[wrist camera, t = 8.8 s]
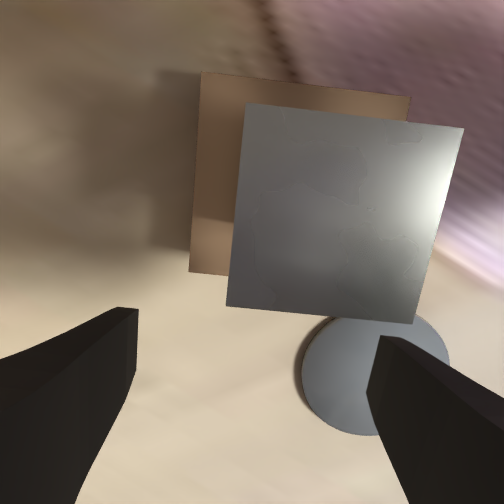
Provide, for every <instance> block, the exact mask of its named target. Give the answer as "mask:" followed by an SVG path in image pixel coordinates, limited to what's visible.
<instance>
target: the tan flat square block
mask: <svg viewBox="0 0 504 504" xmlns="http://www.w3.org/2000/svg"><path fill="white" fill-rule="evenodd" d="M410 101H411V97H407V96H399V95H390V94H382V93H374V92H366V91H357V90H349V89H341V88H333V87H324V86H316V85H308V84H300V83H291V82H283V81H275V80H267V79H258V78H250V77H242V76H234V75H225V74H217V73H209V72H201V85H200V101H199V117H198V132H197V148H196V164H195V179H194V195H193V210H192V226H191V242H190V257H189V272H193V273H203V274H213V275H223V276H229V267H230V257H231V247H232V237H233V227H234V217H235V207H236V196H237V186H238V176H239V166H240V156H241V146H242V136H243V126H244V115H245V105H246V102H247V103H256V104H264V105H272V106H281V107H289V108H297V109H306V110H314V111H323V112H331V113H339V114H348V115H356V116H364V117H373V118H381V119H389V120H398V121H406V119H407V114H408V110H409V105H410Z"/></svg>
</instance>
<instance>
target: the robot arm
mask: <svg viewBox="0 0 504 504" xmlns="http://www.w3.org/2000/svg"><path fill="white" fill-rule="evenodd" d="M138 313H139V309H133V308H124V307H116V308H113V309H111V310H109V311H107V312H105V313H103V314H101V315H99V316H97V317H95V318H93V319H91V320H89V321H87V322H85V323H83V324H81V325H79V326H77V327H75V328H73V329H71V330H69V331H67V332H65V333H63V334H60V335H58V336H56V337H54V338H51V339H49V340H47V341H45V342H43V343H40V344H38V345H36V346H34V347H31V348H29V349H26V350H24V351H21V352H19V353H16V354H14V355H11V356H8V357H5V358H2V359H0V504H75V501H76V499H77V496H78V494H79V492H80V489H81V487H82V485H83V483H84V481H85V478H86V476H87V474H88V472H89V470H90V468H91V466H92V464H93V462H94V460H95V458H96V456H97V455H98V453H99V451H100V449H101V447H102V445H103V443H104V441H105V439H106V437H107V435H108V433H109V431H110V429H111V428H112V426H113V424H114V422H115V420H116V418H117V416H118V414H119V412H120V410H121V408H122V406H123V404H124V402H125V400H126V397H127V394H128V392H129V389H130V386H131V383H132V381H133V378H134V375H135V372H136V363H137V338H138ZM366 396H367V399H368V403H369V407H370V411H371V414H372V417H373V421H374V424H375V426H376V429H377V431H378V434H379V436H380V438H381V441H382V443H383V445H384V448H385V450H386V452H387V454H388V457H389V459H390V461H391V463H392V466H393V468H394V470H395V472H396V475H397V477H398V479H399V482H400V484H401V486H402V488H403V491H404V493H405V495H406V497H407V500H408V502H409V504H504V398H503V397H501V396H499V395H497V394H496V393H494V392H492V391H490V390H489V389H487V388H485V387H483V386H482V385H480V384H478V383H476V382H475V381H473V380H471V379H470V378H468V377H466V376H465V375H463V374H461V373H460V372H458V371H457V370H455V369H453V368H452V367H450V366H449V365H447V364H445V363H444V362H442V361H441V360H439V359H437V358H436V357H434V356H433V355H431V354H430V353H428V352H426V351H425V350H423V349H421V348H420V347H418V346H416V345H415V344H413V343H411V342H409V341H407V340H405V339H403V338H401V337H395V336H385V335H380V338H379V342H378V346H377V350H376V354H375V358H374V362H373V366H372V370H371V374H370V377H369V381H368V385H367V389H366Z"/></svg>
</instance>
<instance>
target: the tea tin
mask: <svg viewBox="0 0 504 504" xmlns="http://www.w3.org/2000/svg"><path fill="white" fill-rule="evenodd" d="M463 131H464V128H456V127H448V126H440V125H431V124H423V123H415V122H406V121H398V120H389V119H381V118H373V117H364V116H356V115H348V114H339V113H331V112H323V111H314V110H306V109H297V108H289V107H281V106H272V105H264V104H256V103H247V102H246V105H245V115H244V126H243V136H242V146H241V156H240V166H239V176H238V186H237V196H236V207H235V217H234V227H233V237H232V247H231V257H230V267H229V277H228V288H227V298H226V306H230V307H240V308H250V309H260V310H270V311H280V312H290V313H300V314H311V315H321V316H331V317H341V318H351V319H361V320H371V321H381V322H391V323H402V324H413V320H414V317H415V313H416V309H417V305H418V301H419V298H420V294H421V290H422V286H423V283H424V279H425V275H426V271H427V267H428V264H429V260H430V256H431V252H432V249H433V245H434V241H435V237H436V233H437V230H438V226H439V222H440V218H441V215H442V211H443V207H444V203H445V199H446V196H447V192H448V188H449V184H450V181H451V177H452V173H453V169H454V165H455V162H456V158H457V154H458V150H459V146H460V143H461V139H462V135H463Z"/></svg>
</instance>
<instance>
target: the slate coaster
mask: <svg viewBox="0 0 504 504" xmlns="http://www.w3.org/2000/svg"><path fill="white" fill-rule="evenodd" d="M380 335H385V336H395V337H401V338H403V339H405V340H407V341H409V342H411V343H413V344H415V345H416V346H418V347H420V348H421V349H423V350H425V351H426V352H428V353H430V354H431V355H433V356H434V357H436V358H437V359H439V360H441V361H442V362H444V363H445V364H447V365H449V366H450V363H449V356H448V351H447V349H446V346H445V344H444V342H443V340H442V339H441V337H440V335H439V334H438V333H437V332H436V331H435V330H434V328H433V327H432V326H431V325H430V324H429V323H427V322H426V321H425V320H424V319H423V318H421V317H420V316H418V315H416V314H415V317H414V320H413V324H402V323H391V322H381V321H371V320H361V319H351V318H341V317H336V318H335V319H333V320H331V321H330V322H329V323H327V324H326V325H325V326H324V327H323V328H322V329H321V330H320V331H319V332H318V333H317V334H316V335H315V337H314V338H313V339H312V341H311V342H310V344H309V346H308V347H307V350H306V352H305V355H304V358H303V362H302V369H301V378H302V384H303V389H304V394H305V396H306V399H307V401H308V403H309V405H310V407H311V408H312V410H313V411H314V412H315V413H316V415H317V416H318V417H319V418H320V419H322V420H323V421H324V422H326V423H327V424H328V425H330V426H332V427H334V428H336V429H338V430H340V431H343V432H346V433H350V434H355V435H364V436H373V435H379V434H378V431H377V429H376V426H375V424H374V421H373V417H372V414H371V411H370V407H369V403H368V399H367V396H366V389H367V385H368V381H369V377H370V374H371V370H372V366H373V362H374V358H375V354H376V350H377V346H378V342H379V338H380Z"/></svg>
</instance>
